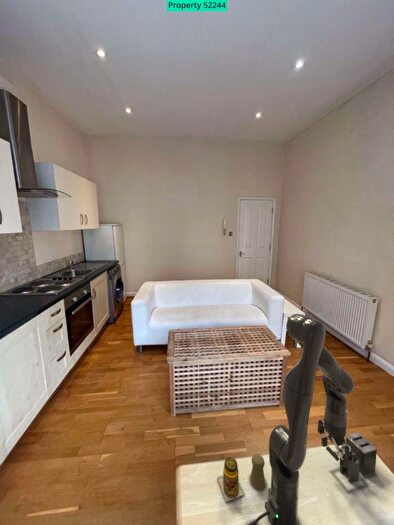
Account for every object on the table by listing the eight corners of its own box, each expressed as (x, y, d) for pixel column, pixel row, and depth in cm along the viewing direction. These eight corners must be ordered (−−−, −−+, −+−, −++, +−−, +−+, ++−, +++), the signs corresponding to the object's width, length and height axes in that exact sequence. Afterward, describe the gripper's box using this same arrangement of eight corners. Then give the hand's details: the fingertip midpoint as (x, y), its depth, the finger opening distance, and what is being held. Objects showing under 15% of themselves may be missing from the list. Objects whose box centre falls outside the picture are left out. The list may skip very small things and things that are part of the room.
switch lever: (335, 462, 86) (337, 456, 86) (325, 450, 91) (326, 444, 91) (357, 463, 89) (359, 458, 89) (346, 452, 94) (348, 447, 94)
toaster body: (362, 479, 92) (364, 452, 91) (344, 459, 100) (346, 435, 99) (375, 474, 94) (377, 448, 92) (356, 455, 102) (357, 431, 101)
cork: (265, 491, 88) (266, 466, 87) (250, 487, 89) (250, 463, 88) (264, 475, 94) (264, 452, 92) (249, 472, 95) (250, 449, 94)
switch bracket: (348, 492, 87) (350, 463, 86) (331, 472, 95) (332, 445, 93) (367, 485, 89) (369, 457, 88) (349, 466, 97) (350, 439, 96)
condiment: (226, 502, 84) (226, 474, 83) (218, 479, 92) (218, 453, 91) (243, 495, 86) (243, 468, 85) (233, 473, 94) (233, 448, 93)
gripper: (313, 407, 93) (312, 442, 94) (343, 436, 79) (341, 476, 81) (328, 404, 95) (326, 438, 96) (359, 431, 81) (357, 470, 83)
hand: (333, 455), depth 89 cm, fingers open, 8 cm apart
